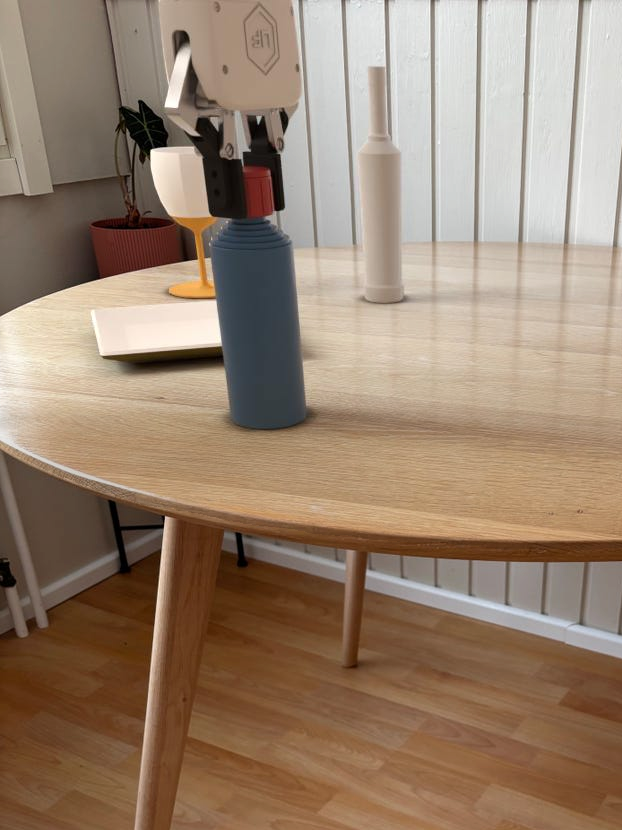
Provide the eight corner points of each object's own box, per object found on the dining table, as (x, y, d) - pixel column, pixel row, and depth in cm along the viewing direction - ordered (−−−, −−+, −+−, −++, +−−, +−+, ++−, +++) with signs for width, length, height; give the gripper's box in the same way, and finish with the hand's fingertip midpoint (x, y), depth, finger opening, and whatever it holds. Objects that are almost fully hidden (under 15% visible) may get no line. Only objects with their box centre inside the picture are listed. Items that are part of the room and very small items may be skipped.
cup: (247, 283, 124) (232, 147, 116) (234, 299, 117) (217, 154, 108) (178, 282, 124) (157, 145, 115) (160, 298, 116) (137, 153, 108)
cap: (277, 210, 74) (273, 166, 72) (271, 218, 70) (267, 172, 69) (226, 209, 74) (220, 165, 72) (218, 217, 70) (212, 171, 69)
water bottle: (240, 433, 77) (209, 185, 67) (224, 409, 82) (193, 174, 72) (315, 423, 79) (297, 182, 69) (295, 400, 84) (275, 172, 74)
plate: (93, 327, 104) (89, 308, 103) (262, 315, 110) (260, 296, 109) (104, 375, 89) (99, 353, 88) (297, 357, 96) (295, 337, 94)
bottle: (402, 293, 121) (397, 66, 107) (406, 302, 116) (401, 67, 103) (362, 294, 120) (351, 65, 106) (365, 303, 116) (354, 66, 102)
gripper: (173, -105, 54) (216, 234, 64) (333, -76, 67) (348, 204, 77) (77, -100, 57) (132, 224, 67) (248, -73, 70) (273, 197, 80)
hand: (248, 210), depth 72 cm, fingers closed on cap, 3 cm apart
